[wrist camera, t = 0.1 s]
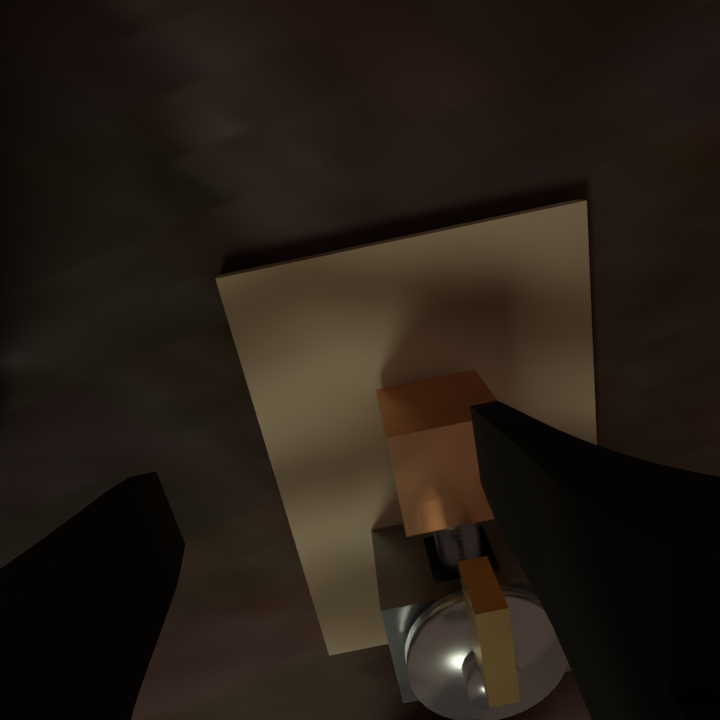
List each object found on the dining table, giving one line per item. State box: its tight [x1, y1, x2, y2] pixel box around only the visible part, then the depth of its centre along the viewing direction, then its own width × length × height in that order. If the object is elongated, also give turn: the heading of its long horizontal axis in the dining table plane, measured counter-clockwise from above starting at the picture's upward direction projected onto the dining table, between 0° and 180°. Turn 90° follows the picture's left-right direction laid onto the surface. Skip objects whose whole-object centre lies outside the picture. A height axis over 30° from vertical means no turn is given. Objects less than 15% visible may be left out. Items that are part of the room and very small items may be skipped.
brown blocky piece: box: [376, 369, 498, 581], centre depth 21 cm, size 12×4×4 cm, turn 11°
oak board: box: [216, 199, 597, 655], centre depth 23 cm, size 20×14×1 cm
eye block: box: [371, 519, 571, 703], centre depth 22 cm, size 5×7×5 cm
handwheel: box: [405, 556, 568, 720], centre depth 18 cm, size 8×6×3 cm
